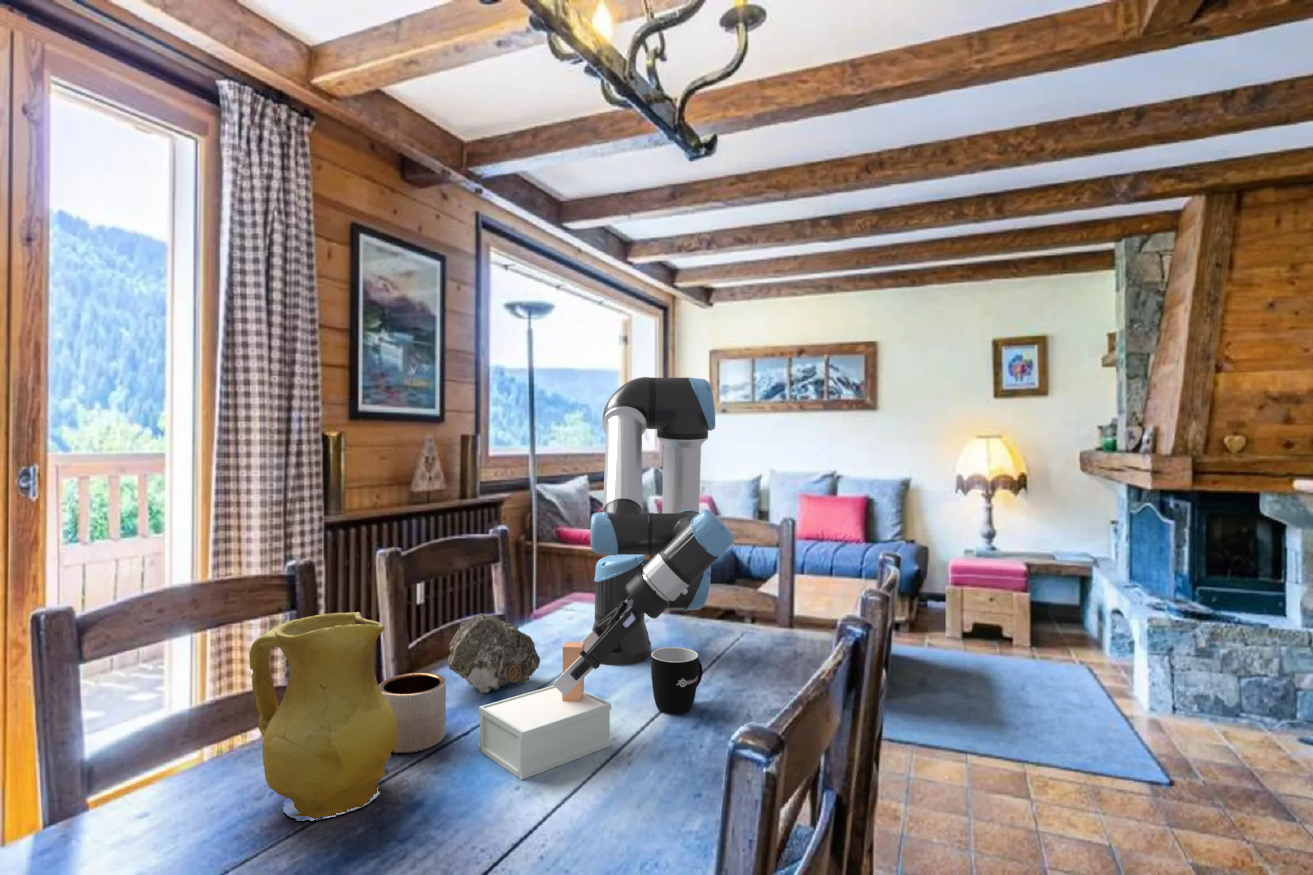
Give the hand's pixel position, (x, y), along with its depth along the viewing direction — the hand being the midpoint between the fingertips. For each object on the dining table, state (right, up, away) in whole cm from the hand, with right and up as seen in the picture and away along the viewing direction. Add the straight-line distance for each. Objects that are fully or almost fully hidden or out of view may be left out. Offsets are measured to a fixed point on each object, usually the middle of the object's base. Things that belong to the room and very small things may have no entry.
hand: (565, 674), depth 116 cm
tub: (-3, -11, -3) cm, 12 cm away
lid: (-3, -5, -3) cm, 6 cm away
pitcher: (-31, -11, -19) cm, 38 cm away
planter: (-25, -11, -1) cm, 28 cm away
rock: (-18, -11, +26) cm, 34 cm away
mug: (+20, -11, +15) cm, 27 cm away
